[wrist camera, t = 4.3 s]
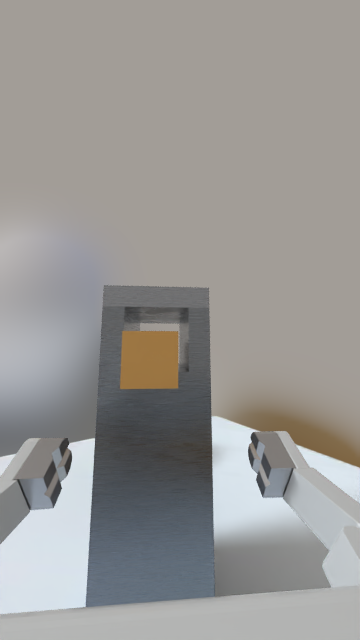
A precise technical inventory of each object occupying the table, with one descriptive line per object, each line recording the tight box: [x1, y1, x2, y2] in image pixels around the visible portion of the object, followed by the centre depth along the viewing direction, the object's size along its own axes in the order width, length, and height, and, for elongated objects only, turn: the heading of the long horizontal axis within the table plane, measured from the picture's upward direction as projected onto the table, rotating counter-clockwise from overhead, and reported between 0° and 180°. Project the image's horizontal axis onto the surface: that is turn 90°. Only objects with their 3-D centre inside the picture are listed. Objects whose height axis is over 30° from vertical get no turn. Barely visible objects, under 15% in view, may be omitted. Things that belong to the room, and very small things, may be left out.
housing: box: [86, 285, 215, 607], centre depth 23 cm, size 10×12×32 cm
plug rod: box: [120, 331, 178, 389], centre depth 20 cm, size 3×18×3 cm, turn 4°
